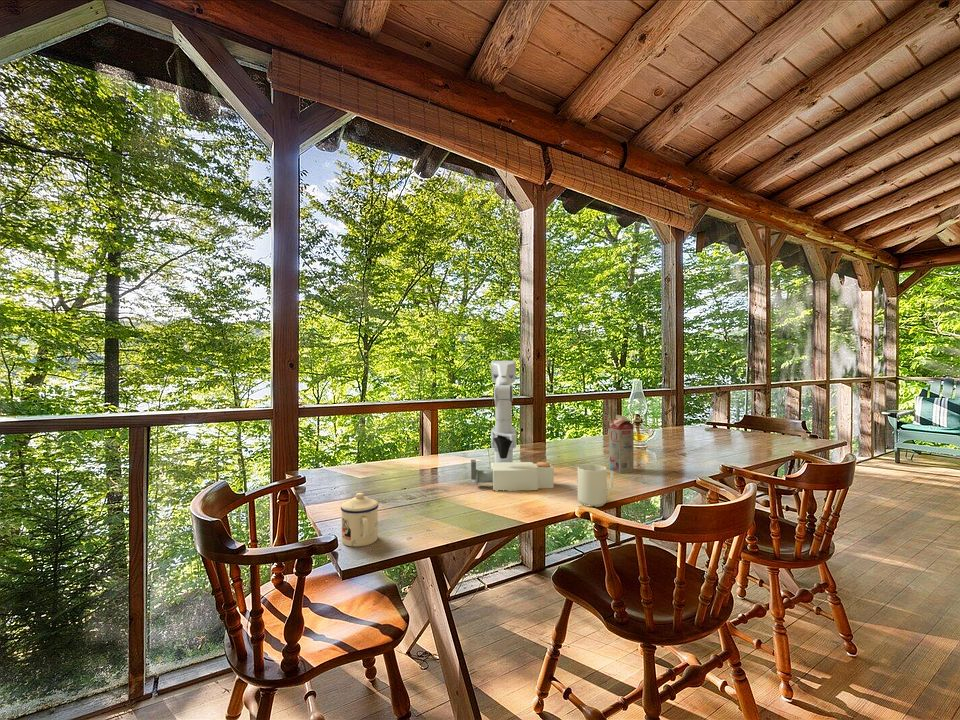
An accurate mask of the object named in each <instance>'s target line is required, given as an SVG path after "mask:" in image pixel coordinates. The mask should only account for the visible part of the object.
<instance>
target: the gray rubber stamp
mask: <svg viewBox="0 0 960 720" xmlns="http://www.w3.org/2000/svg"><path fill="white" fill-rule="evenodd" d="M470 478H471V479H470V480H472V481H473V480H474V482H475V485H477V484H481V483H482V484H483V483H484V484H486V483H487V484H488V483H489V484H491V483H493V470H491V469H490V470H489V469H488V470H486V469H485V470H480V469H477V461H476V459H470Z"/></svg>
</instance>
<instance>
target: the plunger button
mask: <svg viewBox="0 0 960 720" xmlns="http://www.w3.org/2000/svg"><path fill="white" fill-rule="evenodd" d="M536 464H537V466H538V467H548V466H550V464H551V463H550V462H546V461H538V462H536Z"/></svg>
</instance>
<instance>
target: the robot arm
mask: <svg viewBox="0 0 960 720" xmlns="http://www.w3.org/2000/svg"><path fill="white" fill-rule="evenodd" d="M490 364H491V365H490V366H491V368H490V369H491V381H492V383H495V386H494V388H493V399H494V407H495V408H494V409H495V410H494V411H495V412H494V419H495V422H494V423H495V424H494V427H492V428H491V431H490V446H491V448H492V449H493V451H494V455H493V456H494V461H493V463H499V462H514V459H513V457H514V454H513V453H514V450H515V449H516V448H517V440H518V439H517V432H516V431H517V430H516V428H515V427H514V426H512V421H513V418H512V407H513V406H512V404H513V403H512V402H513V399H514V396H513V395H514V388H513V387H514V386H513V383H514V382H515V380H516V375H517V361H516V360H495V359H494V360H493V359H492V360H491V362H490Z"/></svg>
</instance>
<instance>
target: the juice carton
mask: <svg viewBox="0 0 960 720" xmlns="http://www.w3.org/2000/svg"><path fill="white" fill-rule="evenodd" d="M627 419H628V418H627V416H626V415H621V414H615V419H613V420H611V421H610V422H609V423H608V425H609V426H608V431H609V433H608V439H609V440H608V452H609V453H608V455H609V457H608V466H609V468H608V470H610V471H614V473H617V474H625V473H634V424H633V423H632V422H630V421H628V420H627Z"/></svg>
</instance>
